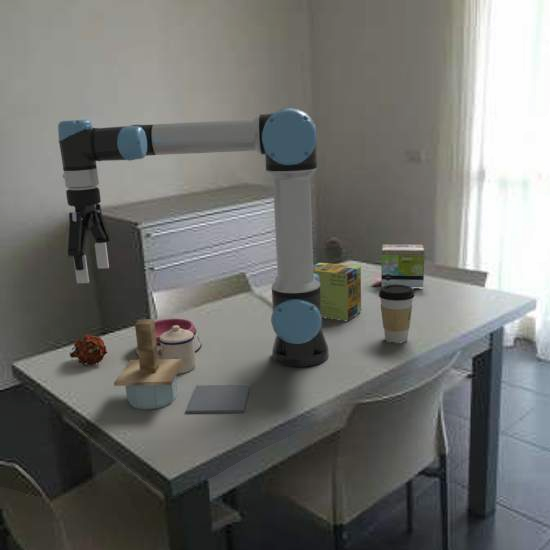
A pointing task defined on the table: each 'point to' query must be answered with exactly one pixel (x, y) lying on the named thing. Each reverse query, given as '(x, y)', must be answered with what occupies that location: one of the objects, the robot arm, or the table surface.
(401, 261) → the tea box
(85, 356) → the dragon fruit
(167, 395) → the ceramic bowl
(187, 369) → the teacup with lid
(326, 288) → the protein box
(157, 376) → the oak lid
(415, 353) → the table surface
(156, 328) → the dog bowl
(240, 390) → the slate mat
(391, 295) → the coffee cup
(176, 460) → the table surface
